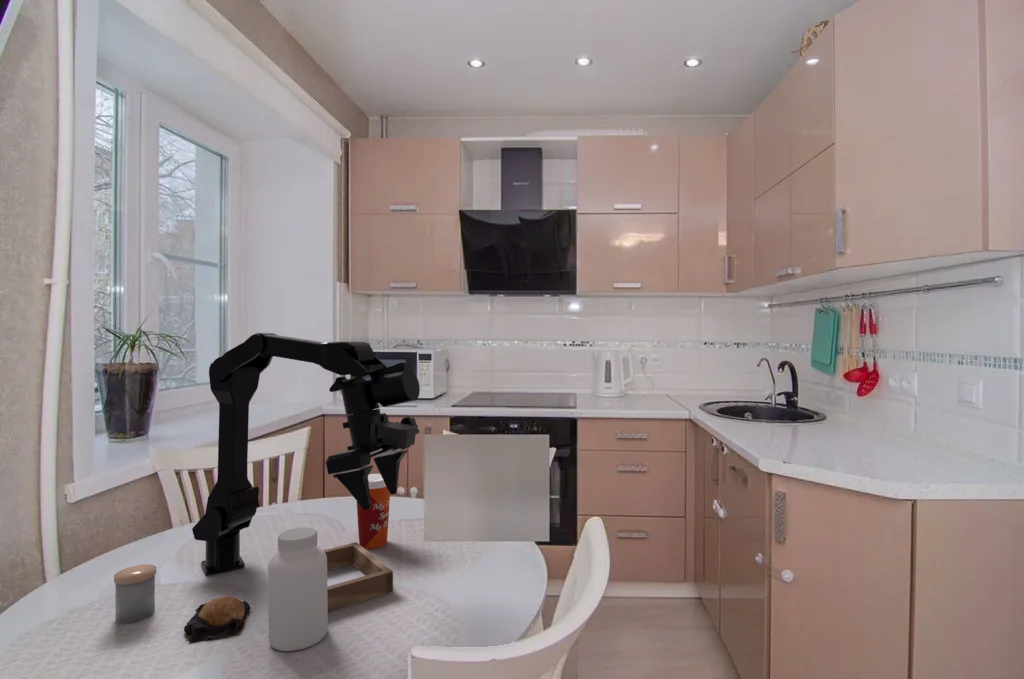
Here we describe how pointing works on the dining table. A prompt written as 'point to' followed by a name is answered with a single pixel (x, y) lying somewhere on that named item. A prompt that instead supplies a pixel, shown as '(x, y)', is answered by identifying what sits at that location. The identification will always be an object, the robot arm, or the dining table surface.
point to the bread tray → (359, 588)
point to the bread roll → (217, 620)
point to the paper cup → (374, 515)
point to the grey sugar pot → (135, 593)
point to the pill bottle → (297, 591)
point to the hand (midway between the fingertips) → (381, 501)
